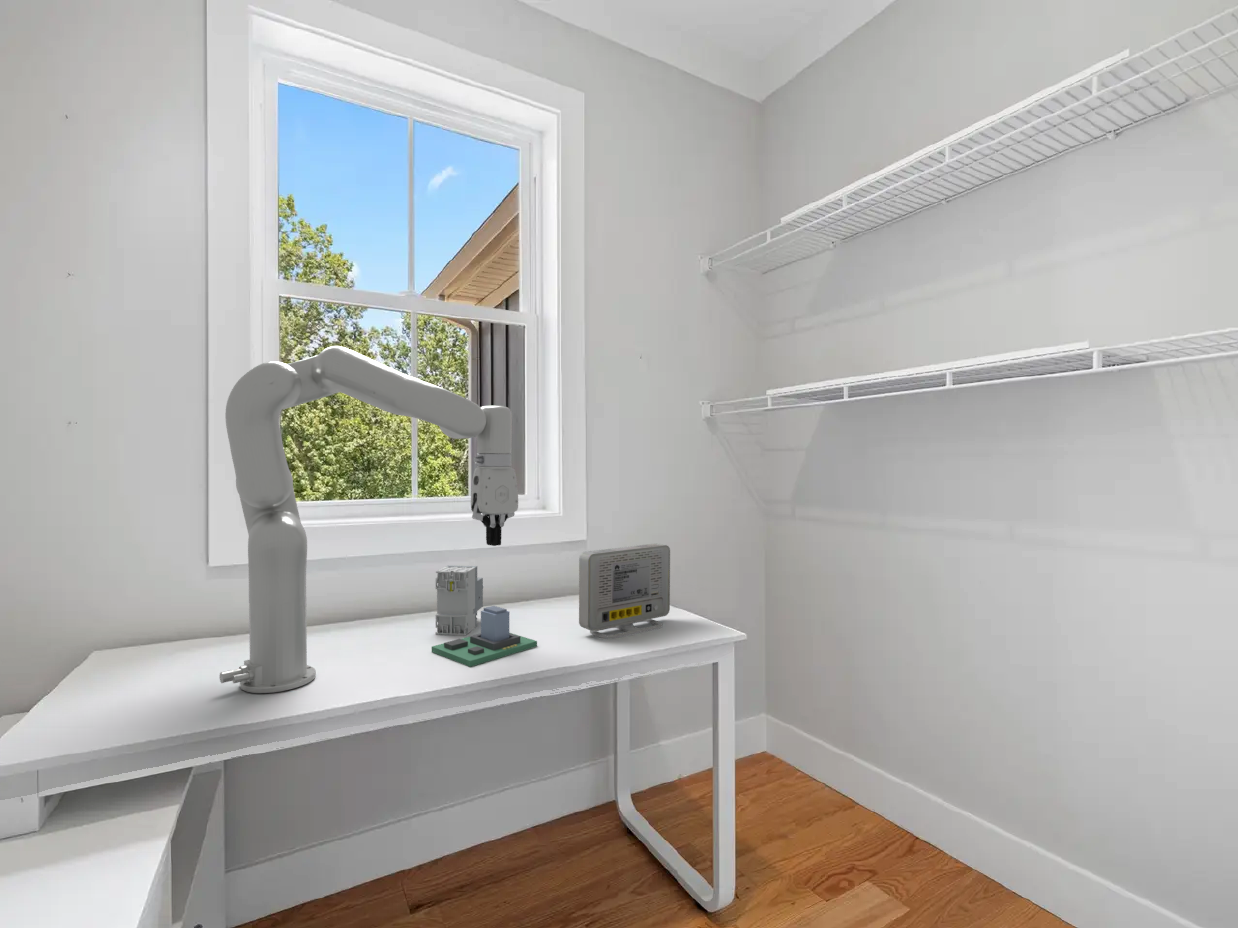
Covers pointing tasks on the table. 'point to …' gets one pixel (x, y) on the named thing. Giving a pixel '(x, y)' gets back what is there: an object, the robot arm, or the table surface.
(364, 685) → the table surface
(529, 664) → the table surface
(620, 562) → the network device
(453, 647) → the board
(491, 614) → the plug
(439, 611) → the circuit breaker
